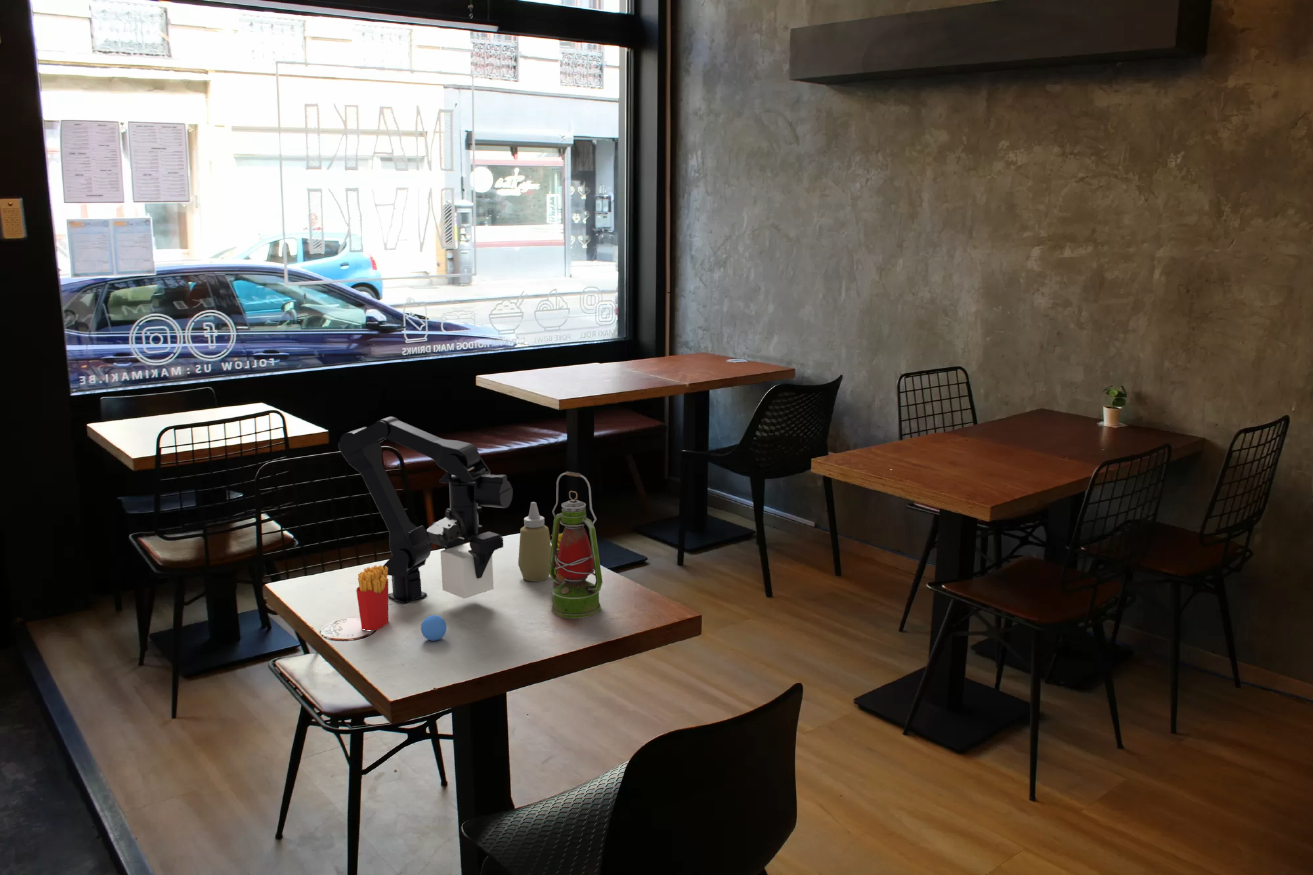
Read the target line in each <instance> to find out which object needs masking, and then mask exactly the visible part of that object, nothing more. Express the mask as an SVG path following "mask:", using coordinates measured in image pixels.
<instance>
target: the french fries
mask: <svg viewBox="0 0 1313 875" xmlns="http://www.w3.org/2000/svg"><path fill="white" fill-rule="evenodd" d="M387 574H388V568H387V567H386V566H385V569H384V568H383V565H376V564H375V565H373V566H372V567H370V566H368V567H366V568H363V571H361V572H359V573H358V578H357V580H358V581H357V582H358V585H359V586H358V587H356V590H355V591H356V597H357V603H358V613H359V619H360V625H361V630H362V629H365V630H375V631H378V630H379V629H382V628H384V626H387V625H388V624H390V623H389V597H388V594H389V578H388V575H387ZM377 629H378V630H377Z"/></svg>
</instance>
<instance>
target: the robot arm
mask: <svg viewBox="0 0 1313 875" xmlns="http://www.w3.org/2000/svg"><path fill="white" fill-rule="evenodd" d="M385 440H389V441H390V442H394V443H395V444H398V445H400V446H403V447H404V448H407V449H409V450H411V451H414V452H417V453H419V454H421V455H424V456H425V457H428V458H430V459H431V460H433V461H434V462H435V463H436V465H437V466H438V467H439V468H440V469H442V470H444V471H445V474H444V475H443V476H442V477H441V478H440V479H438V481H439V483H441V484H449V485H448V488H449V490H448V491H449V508H446V509H445V511H444V517H443V518H441V519H439V520H438V521H435V522H431V523H430V525H429V526H428V528H427V529H426V528H425V526H424V525H420V526H416V525H415V524H414V523H413V522H411V520H410V518H409V516H408V515H407V512H406V510H405V508H404V506H403V503H402V502H401V500H400V498H399V496H398V494H397V491H396V489H395V488H394V486H393V483H392V481H391V480H390V477H389V476H388V473H387V471H386V470H385V467H384V466H383V460H382V457H383V456H382V455H383V448H382V446H381V443H382V442H383V441H385ZM338 449H339V451H340V453H341V455H342V456H343V458H344V459H345V461H346V462H347V464H348V465H350V466H351V467H352V468H354V469H355V471H357V472H359V473H360V475H361V477H362V479H363V481H364V483H365V485H366V487H367V489H368V491H369V493H370V495H371V497H372V499H373V501H374V503H375V505H376V507H377V509H378V512H379V513H380V516H381V518H382V519H383V522H384V524H385V526H386V528H387V530H388V532H389V540H388V541H389V544H388V546H389V550H390V553H391V557H389V559H387V561H386V562H385V563H384V564H383V565H382V566H383V568H384V569H385V566H386V567H387V568H388V574H387V576H391V583H392V584H391V585H392V586H391V587H392V592H390V593H388V599H392V600H394V601H397V602H398V603H401V604H406V603H409V602H413V601H415V600H419V599H421V598H425V597H427V596H428V593H427V592H424V591H423V590H422V581H421V580H422V578H421V571H420V568H421V567H423V566H425V565H426V561H427V559H428V558H429V557H430V556H431V552H432V550H433V549H432V545H431V544H433V545H437V546H439V547H443V548H444V550H446V549H449V548H452V547H456V546H459V545H463V544H464V541H467V542H469V543H470V548H471V549H472V550H469V551H468V552H469V553H470V554H471V555H472V556H473V558H474V566H475V573H476V578H477V579H479V578H481V577H482V575H483V573H484V571H485V568H486V566H487V564H488V562H489V560H490V558H491V556H492V557H493V554H494V553H495V551H497V550H498V549H502V548H504V537H503V536H502V535H501V534H499V533H495V532H493V531H492V532H491V531H486V532H483V531H484V528H483V527H484V526H483V525H481V524H479V514H481V513H482V512H483V507H489V508H490V507H491V508H501V509H507V508H508V507H509V506H510V505H511V502H512V501H513V492H514V491H513V490H514V489H513V487H512V484H511V483H510V481H508V476H507V474H491V473H492V472H491V470H490V468H489V467H488V466H487V464H486V463H485V461H484V460H483V459H482V457H481V456H480V452H479V451H478V447H477V446H476V445H474V444H473V443H470V442H465V441H461V440H453V439H446V438H445V439H444V438H441V437H439V436H436V435H434V434H432V433H429V432H427V431H424V430H422V429H420V428H418V427H415V426H413V425H411V424H408V423H407V422H403V421H402V420H399V419H398V418H397V417H395V416H388V417H385V418H382V419H379V420H377V421H376V422H374V423H373V424H371V425H369V426H363V427H361V428H357V429H354V430H351V431H349V432H345V433H344V434H342V435H341V437H340V439H339V442H338ZM473 469H474V470H473ZM472 470H473V471H472ZM470 471H472V472H470ZM479 532H483V533H480V534H479Z"/></svg>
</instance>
